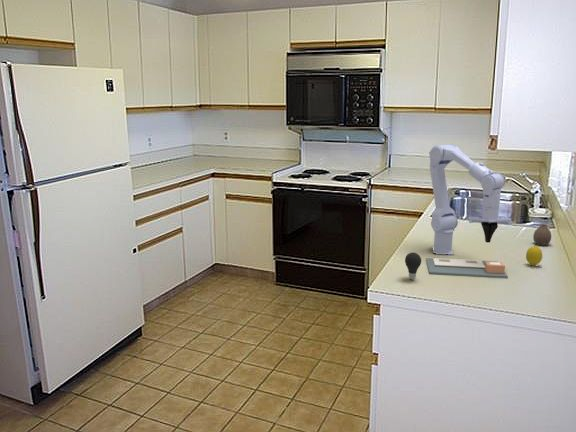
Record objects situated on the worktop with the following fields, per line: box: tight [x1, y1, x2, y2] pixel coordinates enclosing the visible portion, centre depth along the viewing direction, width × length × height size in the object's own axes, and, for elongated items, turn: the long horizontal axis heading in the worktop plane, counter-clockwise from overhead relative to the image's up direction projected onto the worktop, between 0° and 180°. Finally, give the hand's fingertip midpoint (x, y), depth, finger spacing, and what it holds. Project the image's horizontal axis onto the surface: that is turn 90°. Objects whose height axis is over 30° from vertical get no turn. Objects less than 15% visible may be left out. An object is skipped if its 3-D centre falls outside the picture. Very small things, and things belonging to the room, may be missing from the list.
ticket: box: [433, 257, 485, 269], centre depth 192 cm, size 8×18×1 cm, turn 79°
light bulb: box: [404, 252, 422, 280], centre depth 178 cm, size 6×6×10 cm
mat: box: [425, 257, 509, 279], centre depth 189 cm, size 16×27×1 cm, turn 80°
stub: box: [484, 260, 506, 274], centre depth 183 cm, size 4×6×3 cm, turn 79°
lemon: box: [525, 245, 543, 267], centre depth 191 cm, size 6×6×8 cm
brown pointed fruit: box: [532, 223, 552, 247], centre depth 217 cm, size 7×7×9 cm
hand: (487, 241), depth 189 cm, fingers closed
